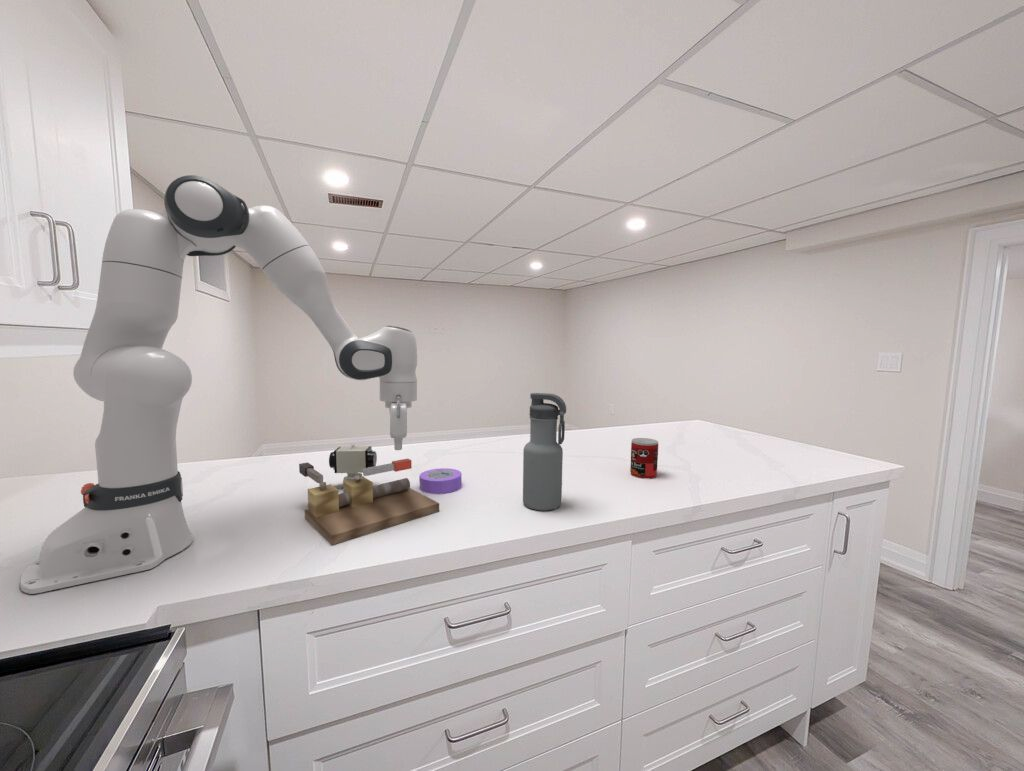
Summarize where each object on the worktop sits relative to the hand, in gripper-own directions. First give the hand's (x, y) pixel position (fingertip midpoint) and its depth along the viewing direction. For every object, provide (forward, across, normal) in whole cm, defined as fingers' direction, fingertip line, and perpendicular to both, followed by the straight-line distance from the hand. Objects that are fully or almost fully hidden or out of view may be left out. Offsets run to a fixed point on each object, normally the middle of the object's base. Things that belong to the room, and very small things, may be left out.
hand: (398, 448), depth 101 cm
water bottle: (+14, -9, -35) cm, 39 cm away
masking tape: (+14, +10, -12) cm, 21 cm away
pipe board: (+14, -1, +8) cm, 16 cm away
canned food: (+13, +6, -74) cm, 75 cm away
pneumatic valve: (+14, +16, +12) cm, 25 cm away
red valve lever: (+7, +1, +3) cm, 8 cm away
